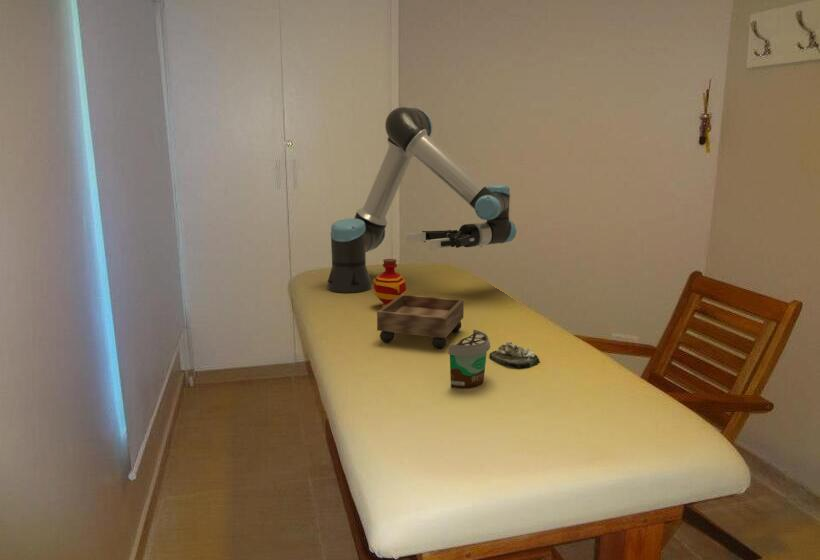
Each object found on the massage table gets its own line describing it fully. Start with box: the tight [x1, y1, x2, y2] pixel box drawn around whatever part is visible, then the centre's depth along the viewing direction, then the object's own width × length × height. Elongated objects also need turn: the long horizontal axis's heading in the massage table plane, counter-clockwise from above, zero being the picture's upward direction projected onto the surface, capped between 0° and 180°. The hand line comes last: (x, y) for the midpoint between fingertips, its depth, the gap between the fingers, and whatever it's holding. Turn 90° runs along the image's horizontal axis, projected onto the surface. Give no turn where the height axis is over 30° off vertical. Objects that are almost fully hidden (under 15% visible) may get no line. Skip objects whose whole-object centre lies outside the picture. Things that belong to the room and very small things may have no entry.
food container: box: [447, 329, 491, 390], centre depth 129 cm, size 12×6×10 cm, turn 148°
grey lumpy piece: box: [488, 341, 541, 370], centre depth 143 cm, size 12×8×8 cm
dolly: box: [376, 294, 465, 350], centre depth 158 cm, size 18×18×9 cm
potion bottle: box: [372, 258, 407, 308], centre depth 184 cm, size 10×10×15 cm
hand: (418, 241), depth 186 cm, fingers open, 13 cm apart
